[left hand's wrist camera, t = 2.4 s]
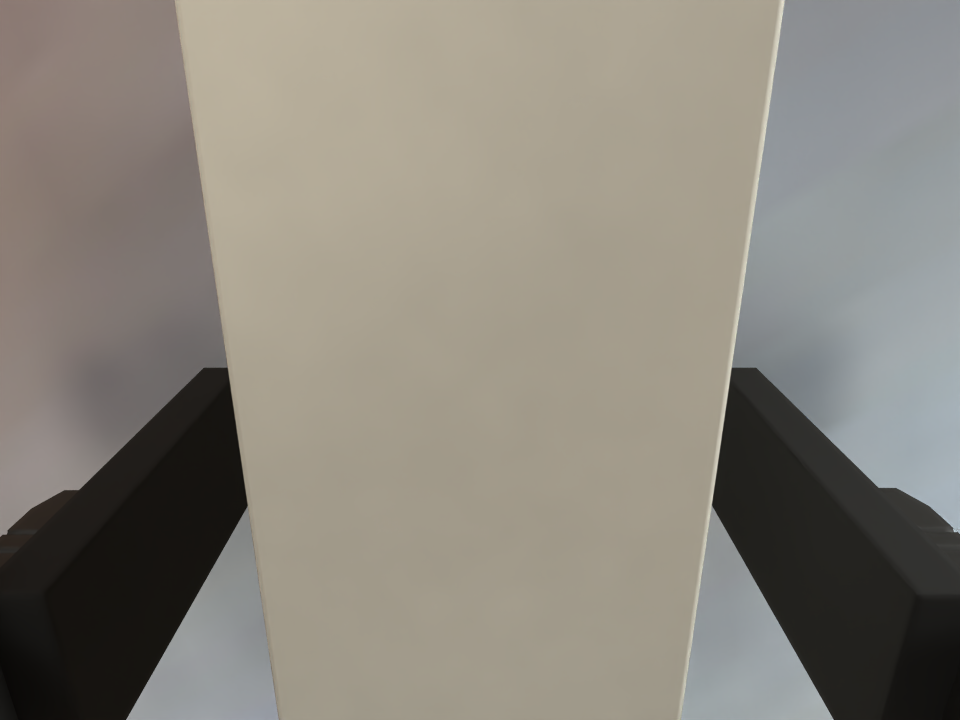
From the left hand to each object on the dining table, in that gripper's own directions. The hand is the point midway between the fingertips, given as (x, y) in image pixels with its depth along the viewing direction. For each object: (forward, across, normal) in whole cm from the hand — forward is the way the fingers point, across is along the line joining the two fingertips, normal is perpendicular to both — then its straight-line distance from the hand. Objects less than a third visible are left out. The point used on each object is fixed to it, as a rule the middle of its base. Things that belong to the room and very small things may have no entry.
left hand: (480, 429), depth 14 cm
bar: (+1, 0, -19) cm, 19 cm away
